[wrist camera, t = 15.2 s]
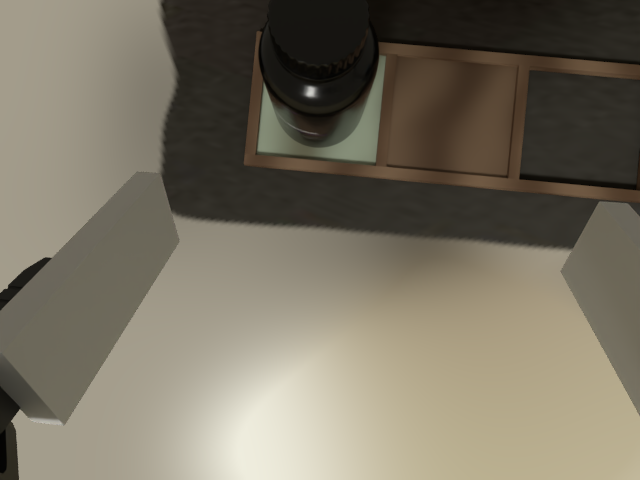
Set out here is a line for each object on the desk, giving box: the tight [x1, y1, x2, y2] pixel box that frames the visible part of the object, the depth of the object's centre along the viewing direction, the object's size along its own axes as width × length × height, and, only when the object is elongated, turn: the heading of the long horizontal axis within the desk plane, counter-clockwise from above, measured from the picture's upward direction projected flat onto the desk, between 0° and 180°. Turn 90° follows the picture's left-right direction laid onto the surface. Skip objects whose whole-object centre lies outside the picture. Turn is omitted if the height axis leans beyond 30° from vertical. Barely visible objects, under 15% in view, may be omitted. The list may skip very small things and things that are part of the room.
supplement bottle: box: [258, 0, 379, 148], centre depth 24 cm, size 7×7×12 cm
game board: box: [244, 31, 640, 203], centre depth 29 cm, size 31×10×1 cm, turn 84°
